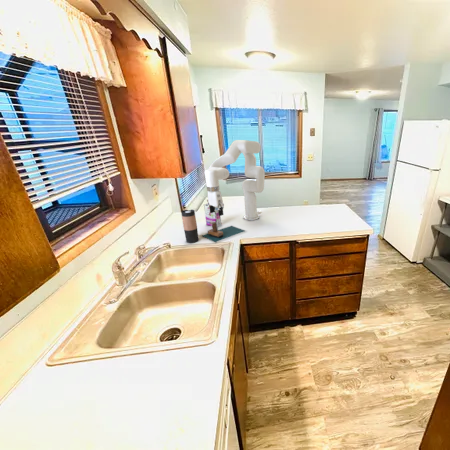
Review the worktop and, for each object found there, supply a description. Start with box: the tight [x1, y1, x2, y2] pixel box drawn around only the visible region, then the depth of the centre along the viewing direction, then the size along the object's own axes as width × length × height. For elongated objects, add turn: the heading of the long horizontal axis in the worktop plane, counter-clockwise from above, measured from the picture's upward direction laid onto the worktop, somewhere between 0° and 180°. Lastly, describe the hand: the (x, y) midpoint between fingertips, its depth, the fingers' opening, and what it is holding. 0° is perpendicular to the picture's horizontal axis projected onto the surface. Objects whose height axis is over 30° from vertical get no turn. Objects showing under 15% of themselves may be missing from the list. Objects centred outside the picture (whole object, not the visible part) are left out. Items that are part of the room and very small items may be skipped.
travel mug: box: [180, 209, 199, 244], centre depth 150 cm, size 8×8×20 cm
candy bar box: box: [203, 202, 222, 228], centre depth 177 cm, size 11×5×16 cm, turn 62°
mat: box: [201, 225, 246, 243], centre depth 164 cm, size 24×16×1 cm, turn 142°
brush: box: [207, 222, 223, 239], centre depth 157 cm, size 4×10×10 cm, turn 61°
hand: (216, 213), depth 159 cm, fingers open, 9 cm apart
